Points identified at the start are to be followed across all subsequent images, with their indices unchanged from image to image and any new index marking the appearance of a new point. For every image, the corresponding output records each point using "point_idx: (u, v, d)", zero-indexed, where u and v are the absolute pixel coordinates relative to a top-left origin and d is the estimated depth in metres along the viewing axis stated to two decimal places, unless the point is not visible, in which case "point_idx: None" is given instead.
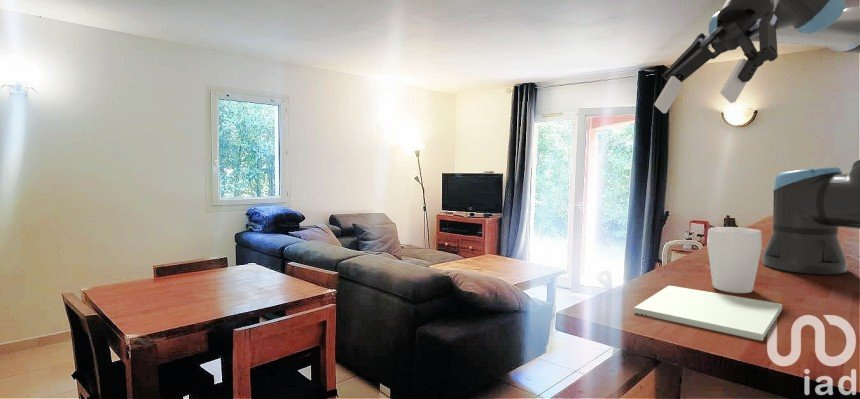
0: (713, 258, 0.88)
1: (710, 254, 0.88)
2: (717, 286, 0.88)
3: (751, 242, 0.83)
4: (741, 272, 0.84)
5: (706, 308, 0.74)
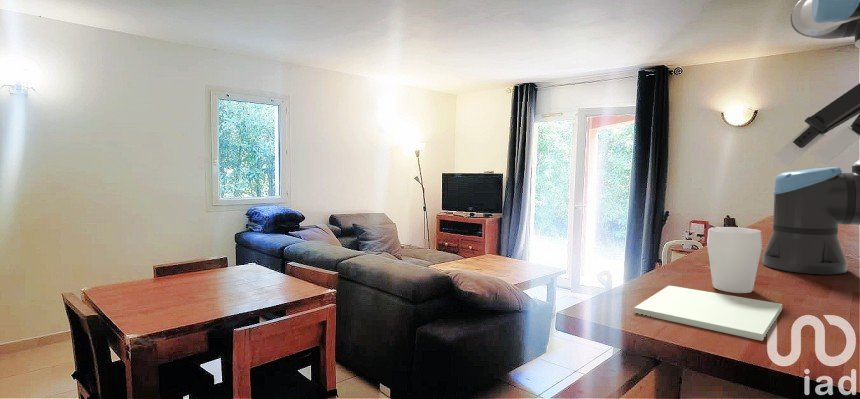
0: (713, 258, 0.88)
1: (710, 254, 0.88)
2: (717, 286, 0.88)
3: (751, 242, 0.83)
4: (741, 272, 0.84)
5: (706, 308, 0.74)
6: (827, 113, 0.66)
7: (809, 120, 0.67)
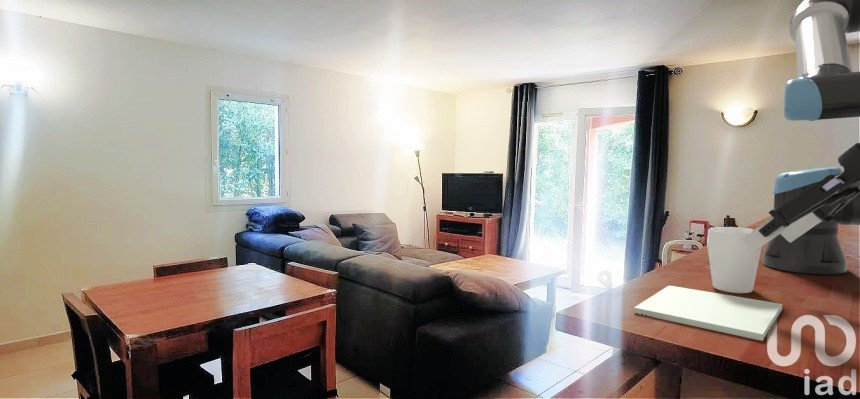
0: (713, 258, 0.88)
1: (710, 254, 0.88)
2: (717, 286, 0.88)
3: None
4: (741, 272, 0.84)
5: (706, 308, 0.74)
6: (788, 210, 0.70)
7: (772, 214, 0.72)
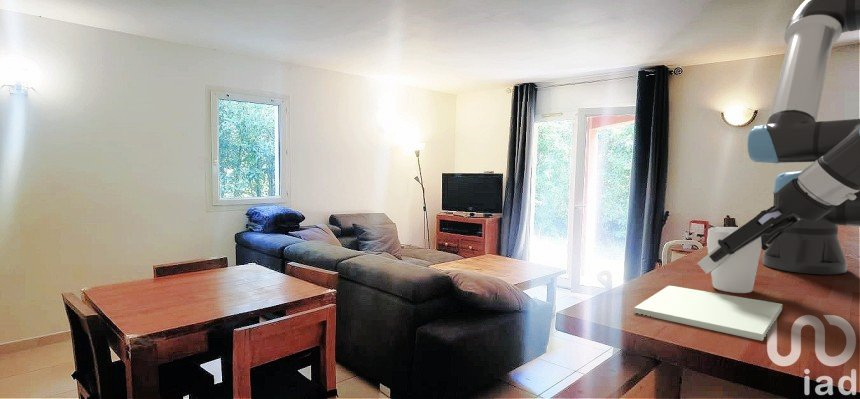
0: None
1: None
2: (717, 286, 0.88)
3: (751, 242, 0.83)
4: (741, 272, 0.84)
5: (706, 308, 0.74)
6: (731, 240, 0.81)
7: (719, 244, 0.82)
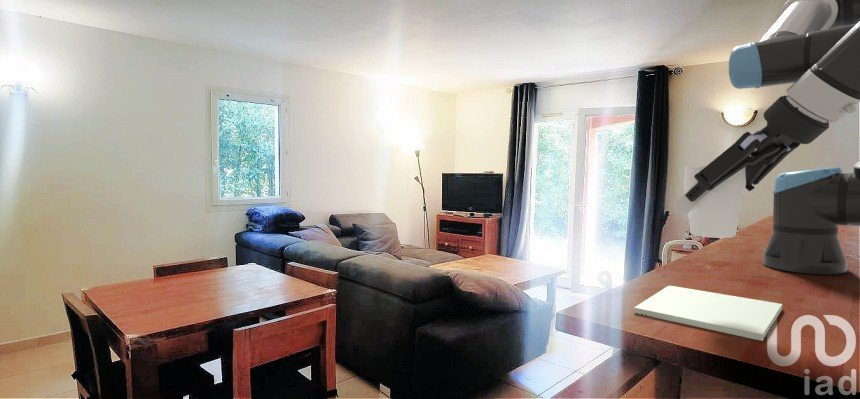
0: None
1: None
2: (695, 231, 0.76)
3: (733, 176, 0.71)
4: (722, 212, 0.72)
5: (706, 308, 0.74)
6: (709, 172, 0.69)
7: (695, 177, 0.70)
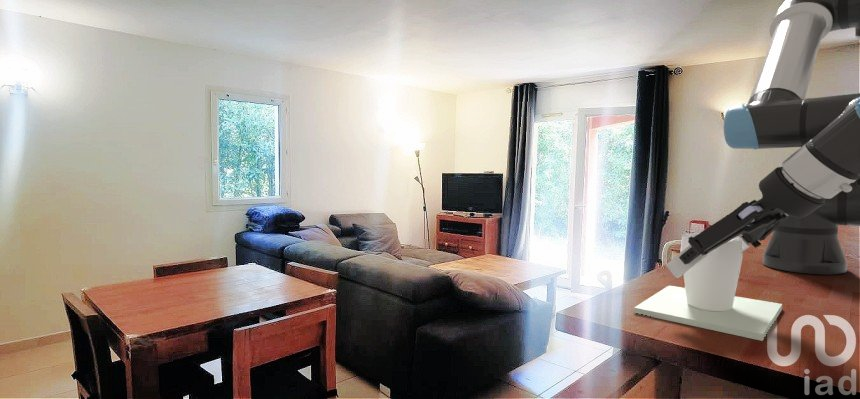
0: None
1: None
2: (691, 302, 0.75)
3: (729, 252, 0.71)
4: (718, 287, 0.72)
5: None
6: (704, 238, 0.67)
7: (689, 242, 0.68)
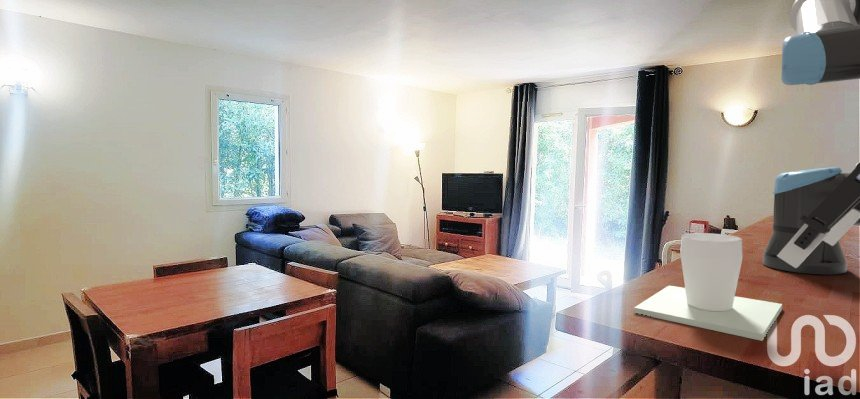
0: (686, 270, 0.75)
1: (684, 265, 0.76)
2: (691, 302, 0.75)
3: (729, 252, 0.71)
4: (718, 287, 0.72)
5: None
6: (824, 213, 0.57)
7: (806, 222, 0.58)
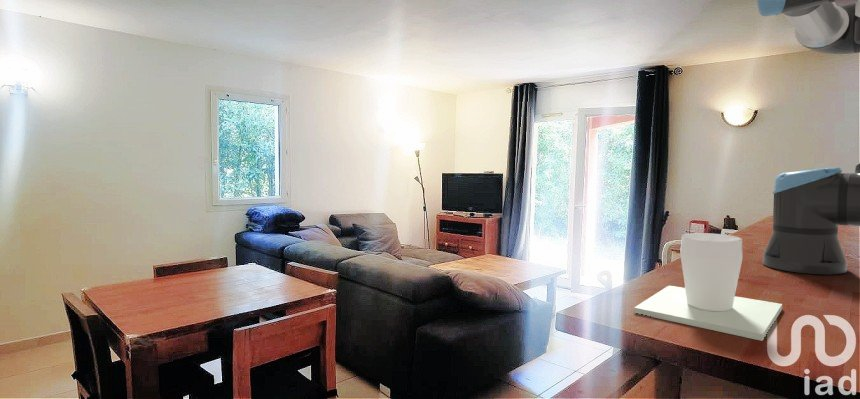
0: (686, 270, 0.75)
1: (684, 265, 0.76)
2: (691, 302, 0.75)
3: (729, 252, 0.71)
4: (718, 287, 0.72)
5: None
6: None
7: None
